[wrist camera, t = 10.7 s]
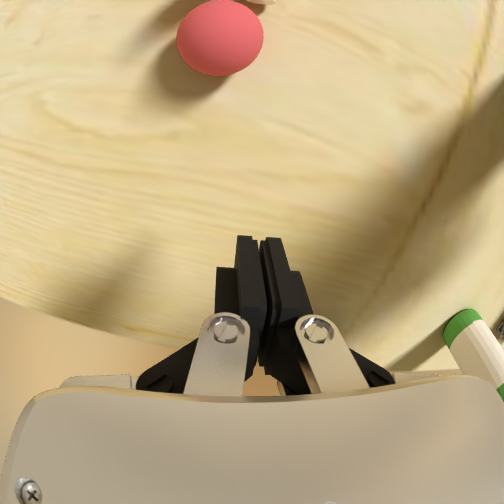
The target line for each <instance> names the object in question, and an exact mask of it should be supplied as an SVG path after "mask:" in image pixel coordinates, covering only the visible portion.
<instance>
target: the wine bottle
mask: <svg viewBox="0 0 504 504" xmlns="http://www.w3.org/2000/svg"><path fill="white" fill-rule="evenodd" d="M443 338H444V341H445V343H446V345H447V346H448V348H449V350H450V352H451V354H452V355H453V357H454V359H455V361H456V362H457V364H458V366H459V368H460V370H461V371H462V373H463V375H470V376H476V377H479V378H482V379H484V380H487V381H488V382H489V383H491V384H492V385H493V387H494V388H495V389H496V391H497V392H498V394H499V395H500V397H501V398H502V400H503V402H504V350H503V349H502V347H501V345H500V344H499V342H498V341H497V339H496V338H495V336H494V335H493V333H492V332H491V331H490V329H489V328H488V326H487V325H486V323H485V322H484V321H483V319H482V318H481V317H480V315H479V314H478V313H477V312H476V311H475V310H473V309H466V310H463V311H461V312H460V313H458V314H457V315H456V316H454V317H453V318H452V319H451V320H450V322H449V323H448V324H447V326H446V327H445V330H444V333H443Z"/></svg>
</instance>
